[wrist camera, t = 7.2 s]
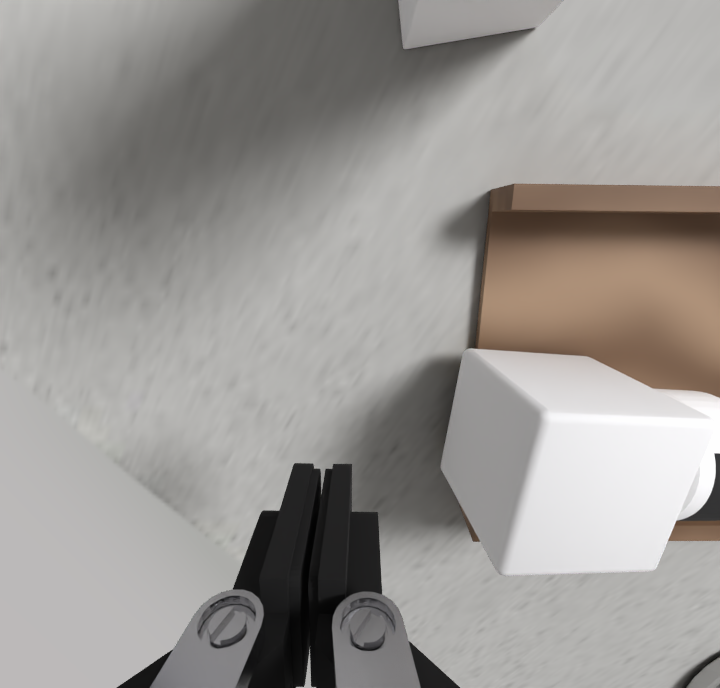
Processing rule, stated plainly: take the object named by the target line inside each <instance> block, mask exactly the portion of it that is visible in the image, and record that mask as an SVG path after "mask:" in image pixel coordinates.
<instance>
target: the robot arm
mask: <svg viewBox="0 0 720 688" xmlns="http://www.w3.org/2000/svg"><path fill="white" fill-rule="evenodd" d="M309 649H310V658H311V659H310V660H311V686H312V687H316V688H460V687H459V686H458V685H457V684H455V683H454V682H453V681H452V680H451V679H450V678H449V677H448V676H447V675H446V674H445V673H443V672H442V671H441V670H440V669H439V668H438V667H437V666H436V665H435V664H434V663H432V662H431V661H430V660H429V659H428V658H427V657H426V656H425V655H424V654H423V653H421V652H420V651H419V650H418V649H417V648H416V647H415V646H414V645H413V644H412V643H410V642H409V641H408V637H407V633H406V629H405V625H404V622H403V618H402V616H401V613H400V611H399V609H398V607H397V606H396V605H395V604H394V603H393V602H392V601H391V600H390V599H388V598H387V597H385V596H384V595H382V585H381V565H380V545H379V526H378V512H352V464H333V469H326V470H325V476H324V483H323V489H322V495H321V471H320V469H314V465H313V464H302V463H295V464H294V465H293V469H292V472H291V475H290V478H289V482H288V485H287V488H286V492H285V495H284V498H283V502H282V505H281V508H280V511H262V512H261V514H260V517H259V519H258V522H257V525H256V527H255V530H254V533H253V536H252V538H251V541H250V544H249V546H248V549H247V552H246V555H245V557H244V560H243V563H242V566H241V568H240V571H239V574H238V576H237V579H236V582H235V585H234V588H233V590H229V591H225V592H221V593H220V594H217V595H215V596H213V597H212V598H210V599H209V600H208V601H206V602H205V603H204V604H203V605H202V606H201V607H200V608H199V610H198V611H197V612H196V613H195V614H194V616H193V618H192V619H191V621H190V623H189V624H188V626H187V628H186V629H185V631H184V633H183V634H182V636H181V637H180V639H179V641H178V642H177V644H176V646H175V647H174V649H173V650H171V651H170V652H168V653H167V654H165V655H164V656H162V657H161V658H160V659H158V660H157V661H155V662H154V663H152V664H151V665H149V666H148V667H147V668H145V669H144V670H142V671H141V672H139V673H138V674H136V675H135V676H133V677H132V678H130V679H129V680H127V681H126V682H124V683H123V684H121V685H120V686H119V687H117V688H296V687H304V685H305V679H306V672H307V663H308V656H309ZM686 688H720V657H718V658H717V659H715V660H714V661H712V662H711V663H710V664H708V665H707V666H705V667H704V668H703V669H702V670H701V671H700V672H699V673H698V674H697V675H696V676H695V677H694V678H693V679H692V681H691V682H690V683H689V684H688V686H687V687H686Z"/></svg>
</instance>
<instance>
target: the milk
mask: <svg viewBox="0 0 720 688" xmlns="http://www.w3.org/2000/svg"><path fill="white" fill-rule="evenodd" d="M563 1H564V0H398V3H399V13H400V23H401V33H402V43H403V48H404V49H411V48H417V47H423V46H428V45H434V44H440V43H446V42H452V41H458V40H464V39H470V38H476V37H482V36H488V35H494V34H500V33H506V32H512V31H518V30H524V29H530V28H535V27H539V26H540V25H541V24H542V23H543V22H544V21H545V20H546V19H547V18H548V17H549V15H550V14H551V13H552V12H553V11H554V10H555V9H556V8H557V7H558V6H559V5H560V4H561V3H562V2H563Z"/></svg>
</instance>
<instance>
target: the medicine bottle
mask: <svg viewBox="0 0 720 688" xmlns="http://www.w3.org/2000/svg"><path fill="white" fill-rule="evenodd" d="M441 470H442V472H443V474H444V475H445V477H446V479H447V481H448V483H449V485H450V487H451V488H452V490H453V492H454V494H455V496H456V498H457V499H458V501H459V503H460V505H461V507H462V509H463V511H464V512H465V514H466V516H467V518H468V520H469V522H470V523H471V525H472V527H473V529H474V531H475V533H476V534H477V536H478V538H479V540H480V542H481V544H482V546H483V547H484V549H485V551H486V553H487V555H488V557H489V558H490V560H491V562H492V564H493V566H494V568H495V569H496V571H497V572H498V573H499V574H500V575H504V576H520V575H550V574H581V573H611V572H641V571H653V570H655V569H656V568H657V565H658V563H659V560H660V558H661V556H662V553H663V551H664V549H665V546H666V544H667V542H668V539H669V537H670V535H671V532H672V530H673V528H674V525H675V523H676V521H720V398H719V397H716V396H714V395H711V394H708V393H704V392H699V391H688V390H670V389H653V388H651V387H649V386H647V385H645V384H643V383H641V382H639V381H637V380H635V379H633V378H631V377H629V376H627V375H625V374H623V373H621V372H619V371H617V370H615V369H612V368H610V367H608V366H606V365H604V364H602V363H600V362H598V361H596V360H594V359H592V358H590V357H588V356H575V355H560V354H546V353H531V352H516V351H501V350H486V349H471V348H470V349H466V350H465V351H464V352H463V355H462V360H461V365H460V370H459V375H458V380H457V385H456V390H455V395H454V400H453V405H452V410H451V415H450V420H449V425H448V430H447V435H446V440H445V445H444V450H443V455H442V461H441Z"/></svg>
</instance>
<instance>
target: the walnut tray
mask: <svg viewBox="0 0 720 688" xmlns="http://www.w3.org/2000/svg"><path fill="white" fill-rule="evenodd" d="M475 349H486V350H501V351H516V352H531V353H546V354H560V355H575V356H588V357H590V358H592V359H594V360H596V361H598V362H600V363H602V364H604V365H606V366H608V367H610V368H612V369H615V370H617V371H619V372H621V373H623V374H625V375H627V376H629V377H631V378H633V379H635V380H637V381H639V382H641V383H643V384H645V385H647V386H649V387H651V388H653V389H670V390H688V391H699V392H704V393H708V394H711V395H714V396H716V397H719V398H720V186H645V185H568V184H512V185H508V186H504V187H500V188H496V189H492V190H491V192H490V202H489V212H488V222H487V232H486V242H485V252H484V263H483V273H482V283H481V293H480V303H479V313H478V323H477V333H476V343H475ZM459 505H460V504H459ZM460 508H461V511H462V513H463V516H464V519H465V521H466V524H467V527H468V529H469V532H470V535H471V537H472V540H473V542H480V540H479V538H478V536H477V534H476V533H475V531H474V529H473V527H472V525H471V523H470V522H469V520H468V518H467V516H466V514H465V512H464V511H463V509H462V507H461V505H460ZM668 541H720V521H676V523H675V525H674V528H673V530H672V532H671V535H670V537H669V539H668Z"/></svg>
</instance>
